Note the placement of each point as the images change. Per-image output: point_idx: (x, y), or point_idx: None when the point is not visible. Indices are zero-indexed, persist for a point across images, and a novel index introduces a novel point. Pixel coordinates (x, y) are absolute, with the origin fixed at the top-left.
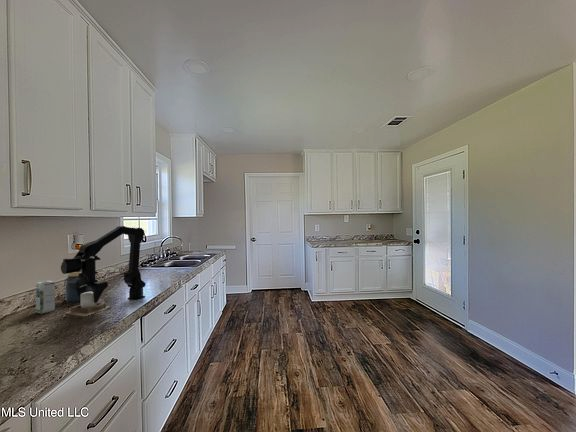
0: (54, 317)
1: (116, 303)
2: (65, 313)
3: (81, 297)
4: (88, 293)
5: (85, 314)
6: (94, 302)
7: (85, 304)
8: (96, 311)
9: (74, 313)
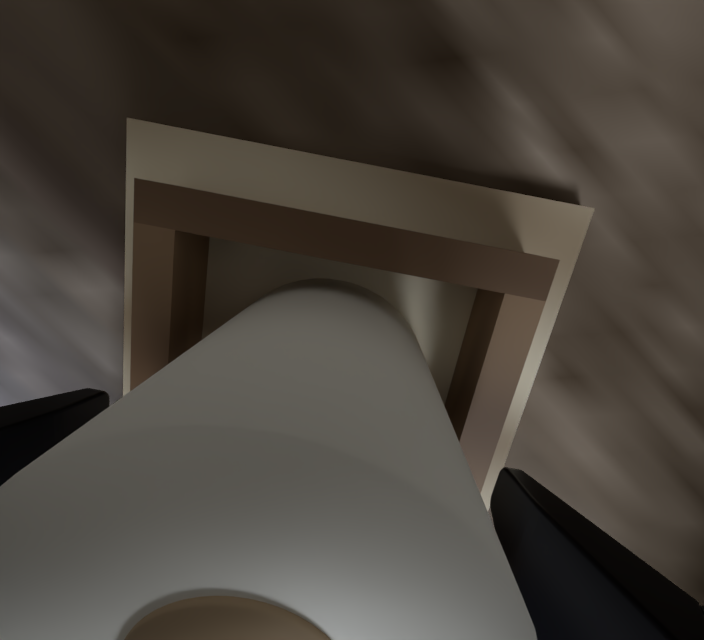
0: (639, 21)
1: None
2: (579, 206)
3: (330, 379)
4: (144, 633)
5: (163, 160)
6: (92, 393)
7: (249, 313)
8: (125, 308)
9: (392, 186)
